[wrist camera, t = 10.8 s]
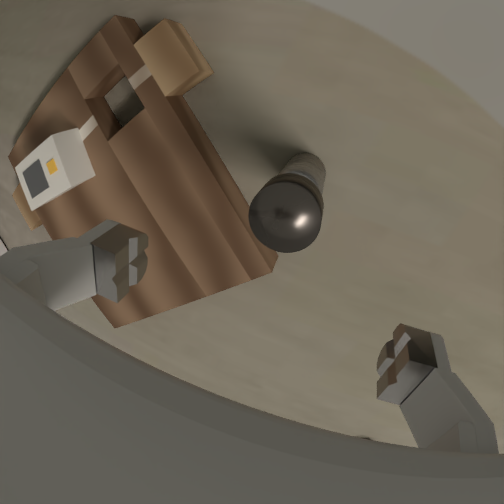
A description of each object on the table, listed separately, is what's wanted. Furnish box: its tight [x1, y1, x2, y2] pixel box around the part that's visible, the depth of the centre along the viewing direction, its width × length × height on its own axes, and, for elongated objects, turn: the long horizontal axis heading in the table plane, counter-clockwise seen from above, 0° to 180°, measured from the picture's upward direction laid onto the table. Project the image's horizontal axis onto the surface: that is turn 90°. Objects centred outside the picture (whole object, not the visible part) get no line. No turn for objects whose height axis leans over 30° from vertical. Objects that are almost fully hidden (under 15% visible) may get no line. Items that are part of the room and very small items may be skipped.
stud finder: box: [15, 128, 96, 211], centre depth 22 cm, size 7×4×3 cm, turn 109°
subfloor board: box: [8, 15, 278, 328], centre depth 25 cm, size 26×23×2 cm
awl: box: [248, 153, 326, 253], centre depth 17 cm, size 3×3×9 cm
